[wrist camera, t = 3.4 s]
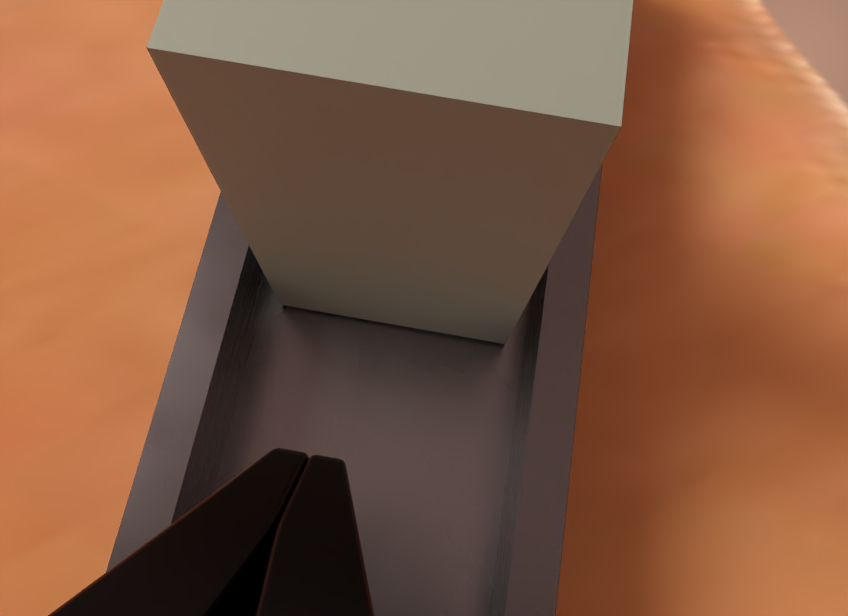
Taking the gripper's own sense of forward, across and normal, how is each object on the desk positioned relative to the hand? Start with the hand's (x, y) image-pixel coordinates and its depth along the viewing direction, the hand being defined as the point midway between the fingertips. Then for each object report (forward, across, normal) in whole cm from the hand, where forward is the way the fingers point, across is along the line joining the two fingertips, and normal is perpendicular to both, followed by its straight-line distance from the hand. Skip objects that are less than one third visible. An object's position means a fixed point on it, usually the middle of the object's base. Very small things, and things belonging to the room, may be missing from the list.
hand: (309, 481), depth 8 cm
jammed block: (+11, 0, +1) cm, 11 cm away
